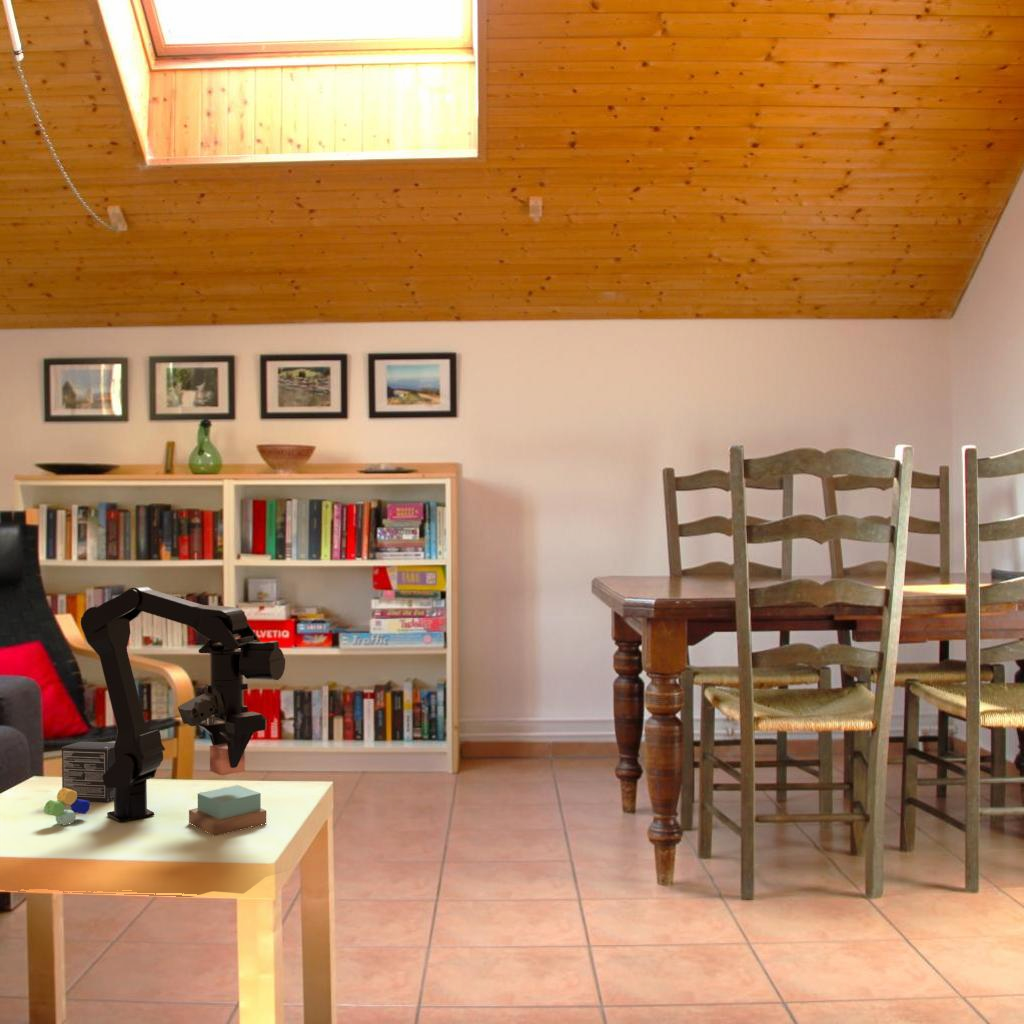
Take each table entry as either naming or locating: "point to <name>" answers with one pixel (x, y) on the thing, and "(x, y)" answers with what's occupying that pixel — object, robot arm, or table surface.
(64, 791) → the multicolored block cluster
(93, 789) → the small box
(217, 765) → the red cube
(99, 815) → the table surface
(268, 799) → the table surface
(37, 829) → the table surface
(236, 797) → the tower top
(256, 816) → the tower base
